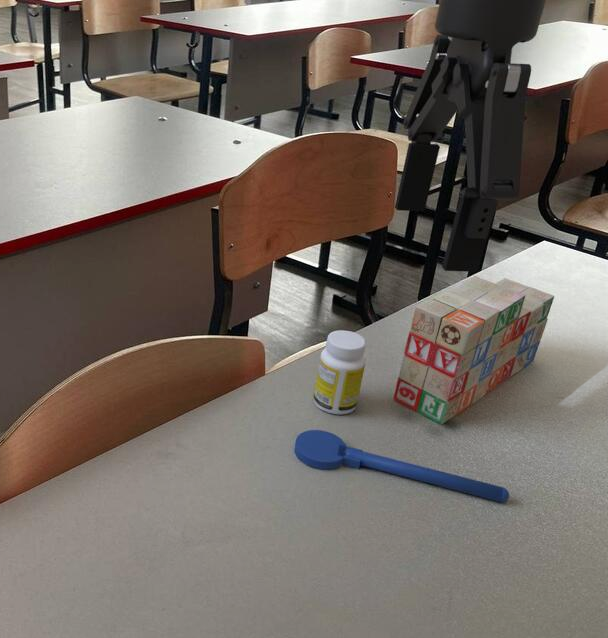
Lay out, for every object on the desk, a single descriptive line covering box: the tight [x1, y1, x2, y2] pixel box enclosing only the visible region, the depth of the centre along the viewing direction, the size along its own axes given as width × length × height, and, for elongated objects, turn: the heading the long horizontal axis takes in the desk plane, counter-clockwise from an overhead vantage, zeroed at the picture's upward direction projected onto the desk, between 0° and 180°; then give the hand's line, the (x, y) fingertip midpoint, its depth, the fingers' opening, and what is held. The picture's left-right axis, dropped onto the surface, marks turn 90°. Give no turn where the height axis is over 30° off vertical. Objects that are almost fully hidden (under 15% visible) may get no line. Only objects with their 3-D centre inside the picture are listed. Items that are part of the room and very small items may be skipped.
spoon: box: [293, 429, 510, 503], centre depth 75 cm, size 20×5×1 cm, turn 68°
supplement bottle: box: [313, 329, 366, 415], centre depth 83 cm, size 5×5×8 cm
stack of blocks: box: [393, 275, 555, 425], centre depth 87 cm, size 21×6×12 cm, turn 129°
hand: (432, 237), depth 69 cm, fingers open, 13 cm apart
